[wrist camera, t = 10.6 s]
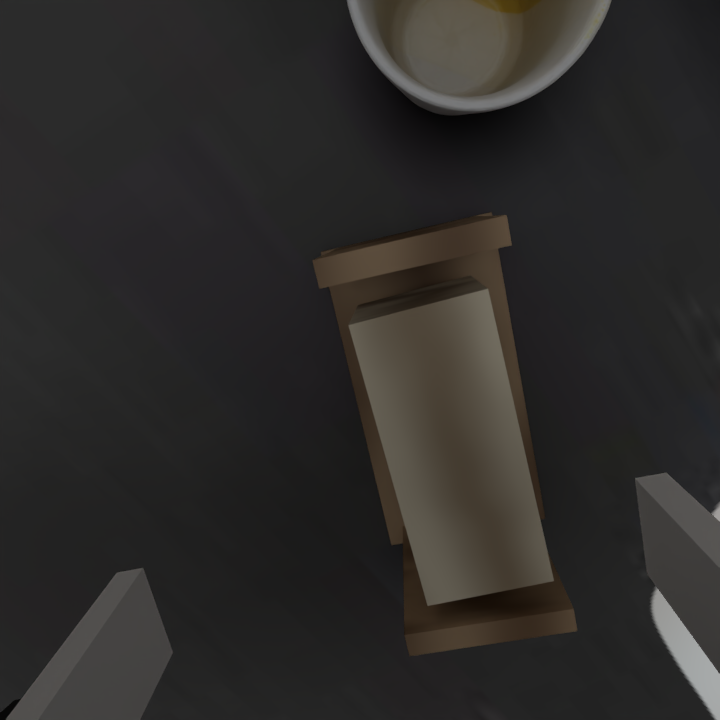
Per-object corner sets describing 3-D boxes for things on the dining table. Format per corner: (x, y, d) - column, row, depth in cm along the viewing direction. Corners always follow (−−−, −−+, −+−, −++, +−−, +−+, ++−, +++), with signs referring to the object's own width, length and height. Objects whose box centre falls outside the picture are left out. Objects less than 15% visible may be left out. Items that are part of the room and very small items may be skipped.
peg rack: (391, 538, 39) (389, 659, 28) (322, 251, 35) (289, 265, 24) (542, 512, 38) (599, 627, 27) (489, 212, 34) (531, 209, 23)
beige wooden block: (422, 538, 34) (427, 606, 28) (357, 305, 31) (348, 325, 25) (526, 516, 33) (554, 580, 27) (470, 275, 30) (487, 288, 24)
